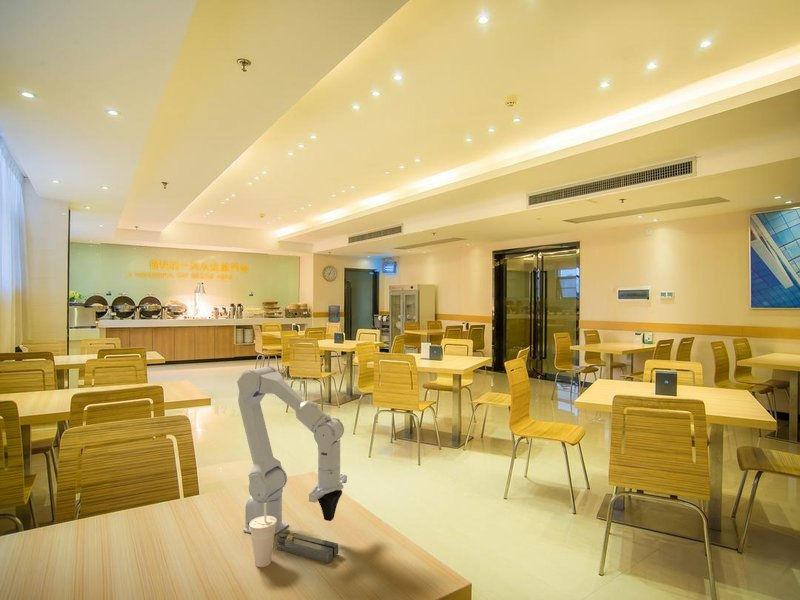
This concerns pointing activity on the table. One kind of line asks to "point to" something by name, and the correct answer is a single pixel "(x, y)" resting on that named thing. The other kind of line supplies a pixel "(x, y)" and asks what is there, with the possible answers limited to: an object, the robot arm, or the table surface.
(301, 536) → the bar
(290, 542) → the tongs base
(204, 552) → the table surface
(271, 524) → the smoothie
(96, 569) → the table surface
